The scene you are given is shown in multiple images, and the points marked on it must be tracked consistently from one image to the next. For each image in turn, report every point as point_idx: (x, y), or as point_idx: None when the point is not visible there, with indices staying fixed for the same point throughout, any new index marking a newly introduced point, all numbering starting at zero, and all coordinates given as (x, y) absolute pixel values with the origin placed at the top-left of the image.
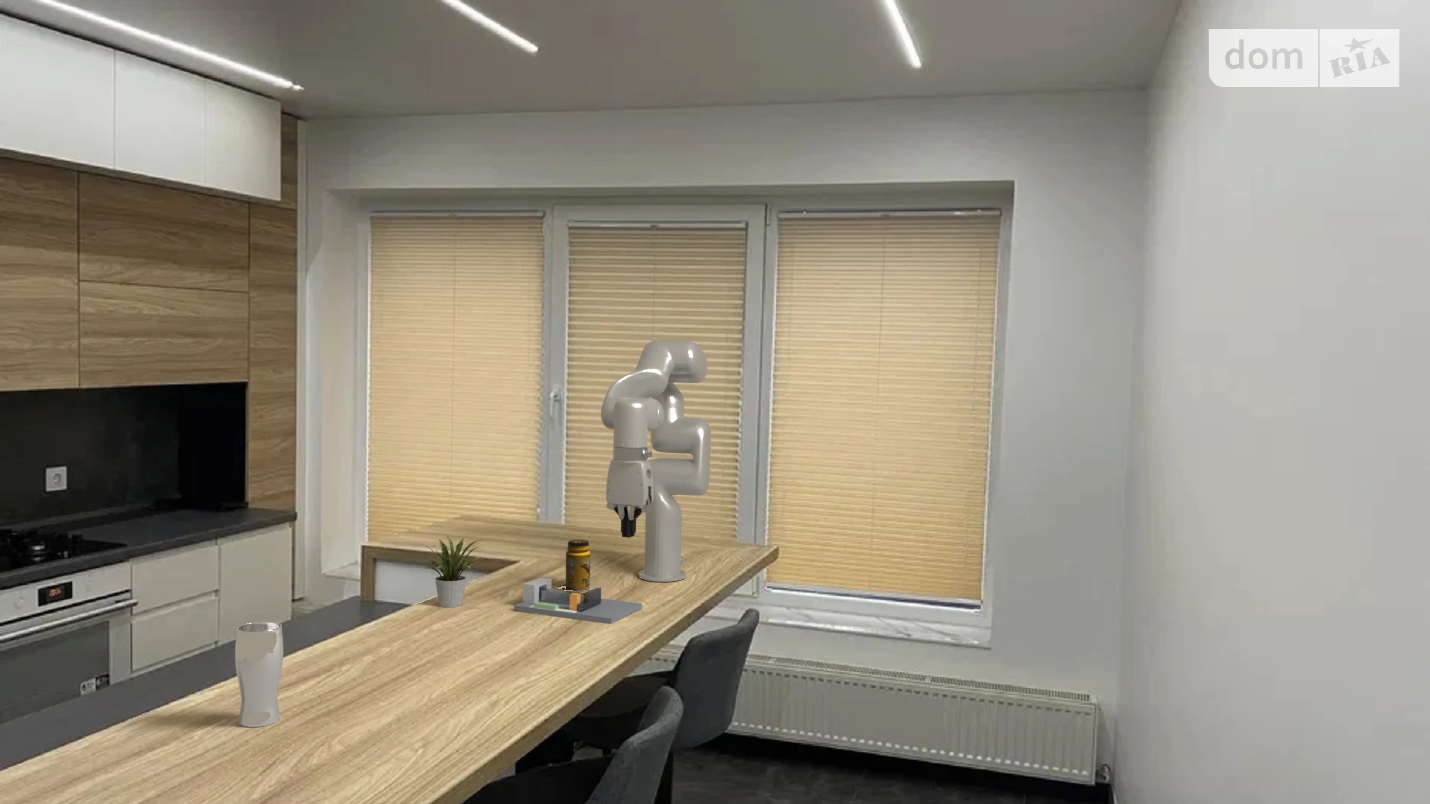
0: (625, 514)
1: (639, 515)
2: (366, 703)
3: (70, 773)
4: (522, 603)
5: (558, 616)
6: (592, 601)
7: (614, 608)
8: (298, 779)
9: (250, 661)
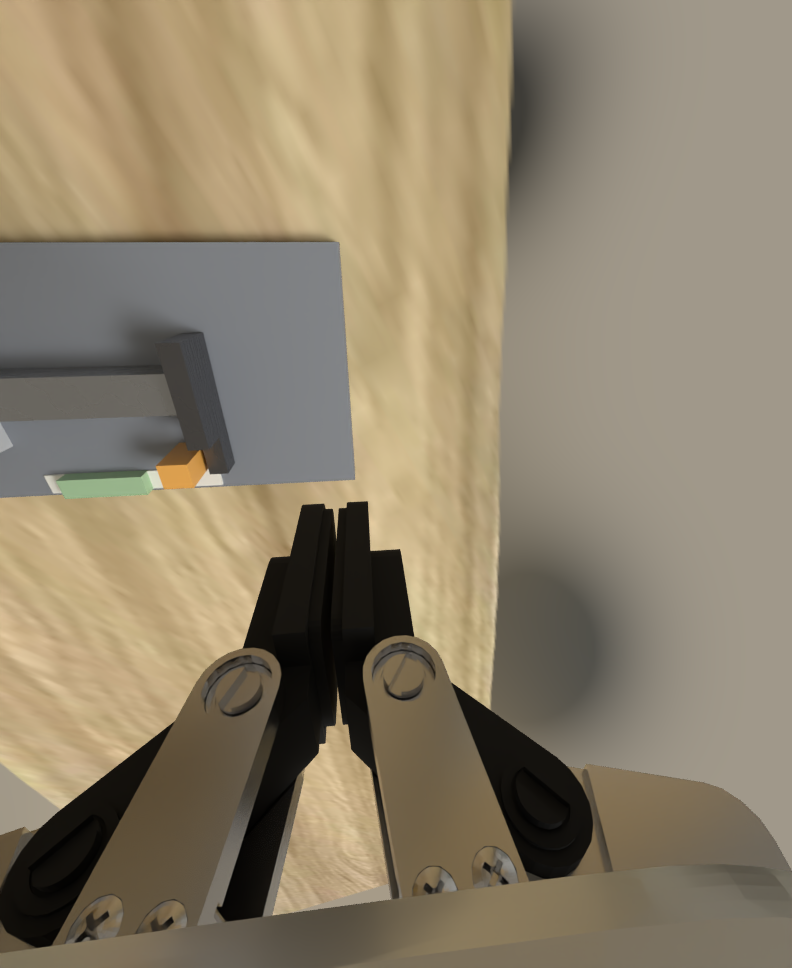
0: (283, 766)
1: (481, 706)
2: (299, 826)
3: None
4: None
5: None
6: (213, 406)
7: (292, 372)
8: (382, 876)
9: None
